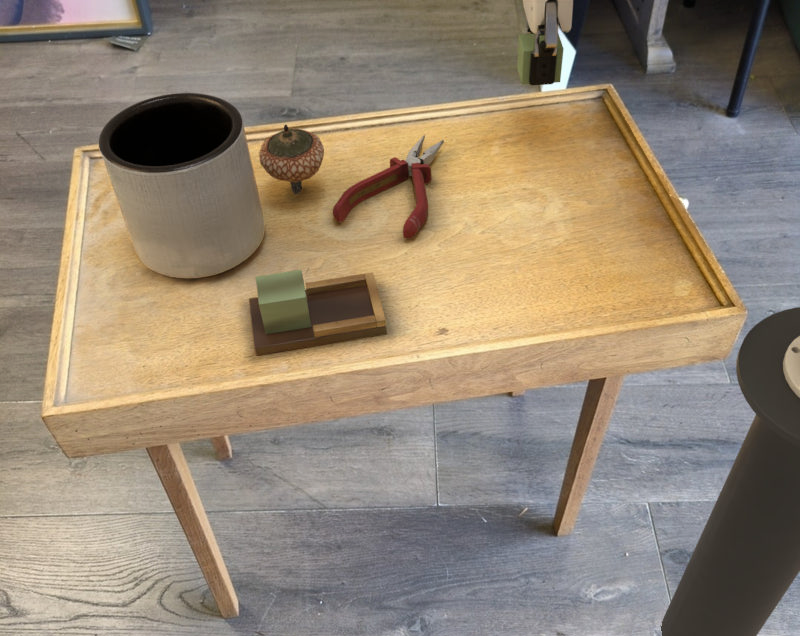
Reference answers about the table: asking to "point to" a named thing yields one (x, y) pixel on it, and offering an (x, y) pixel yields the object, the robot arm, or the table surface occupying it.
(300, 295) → the brown wooden rectangular tray
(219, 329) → the table surface
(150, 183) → the planter
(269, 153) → the acorn
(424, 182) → the pliers
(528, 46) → the block
